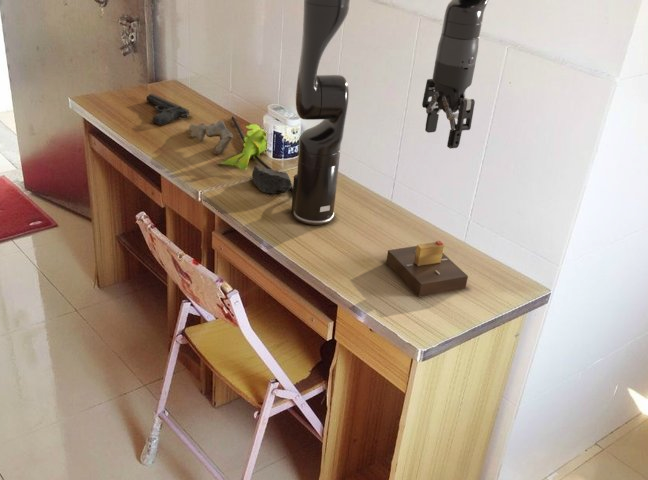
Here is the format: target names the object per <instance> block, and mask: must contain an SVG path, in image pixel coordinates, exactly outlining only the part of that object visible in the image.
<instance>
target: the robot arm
mask: <svg viewBox="0 0 648 480" xmlns="http://www.w3.org/2000/svg"><path fill="white" fill-rule="evenodd" d="M350 3H351V0H303V17H302V19H303V21H302V36H301V37H302V39H301V49H300V58H299V66H298V73H297V81H296V88H295V89H296V90H295V107H296V109H295V110H296V113H297V116H298V117H299V118H300V119H301V120H307V121H308V120H309V121H310V120H311V121H313V120H314V121H315V120H318V121H319V120H321V122H319V123H318V124H316V125H314V126H311V127H310V128H307V129H305V130H304V131H303V132H301V134H300V136H299V143H298V144H299V147H298V158H297V159H298V161H297V172H296V174H294V176H293V183H292V187H291V188H290V189H289V190H290V191H291V193H292V194H291V195H292V196H291V210H290V212H291V214H293V217H294V219H295V220H296V221H298V222H299V223H303V224H305V225H309V226H310V225H311V226H323V225H327V224H329V223H331V222H332V221H333V220H334V218H335V217H334V216H335V203H336V194H337V185H338V178H339V177H338V176H339V167H340V157H341V149H342V142H343V138H344V132H345V124H346V118H347V114H348V108H349V98H350V97H349V96H350V89H349V83H348V81H347V78H345V77H344V76H343V75H340V74H318V70H319V67H320V63H321V60H322V57H323V55H324V53H325V51H326V49H327V47H328V46H329V45H330V42H331V41H332V40H333V38H334V37H335V36H336V34H337V33H338V31H339V30H340V29H341V27H342V26H343V24H344V22H345V21H346V19H347V17H348V14H349V10H350ZM488 3H489V0H450V2H448V4H447V6H446V8H445V11H444V16H443V21H442V28H441V33H440V37H439V41H438V44H437V49H436V56H435V61H434V67H433V73H432V78H428V79H427V80H426V82H425V89H424V94H423V98H422V102H421V106H422V108H423V109H424V108H425V112H426V114H427V116H426V120H425V121H426V122H425V132H426V133H428V134H429V133H436V132H437V127H438V121H439V117H440V116H439V115H440V114H439V113H440V112H441V111H443V112H444V113H445V116H446V119H447V120H448V121H449V125H450V129H449V133H448V138H447V145H446V147H447V148H448V149H450V150H451V149H457V148H458V147H459V146H460V143H461V137H462V133H463V131H470V130H471V128H472V123H473V115H474V109H475V103H476V101H475V99H474V98H467V97H466V90H467V89H468V88H469V87H470V86H472V84H473V79H474V78H473V77H474V74H475V68H476V63H477V58H478V53H479V46H480V45H479V43H480V42H479V41H480V36H481V31H482V25H483V20H484V13H485V10H486V7H487V5H488ZM429 98H430V101H429ZM456 112H458V113H456ZM231 120H232V121H233V123H234V125H235V128H236V129H237V130H238V134H239V136H240V138H241V139H242V141H243V144H244V143H245V141H244V138H245V137H246V136H245V135H244V132H243V131H242V129H241V127H240V124H239V123H238V121H237V119H236V118H235V116H232V117H231ZM456 120H457V121H456ZM255 159H256V160H257V162H258V163H259V164H261V165H262V166H263V168H266V169H272V170H274V169H273V168H271V166H269V164H267V163H266V162H265V161H263V160H262V159H261V158H260V156H259V157H257V156H255Z"/></svg>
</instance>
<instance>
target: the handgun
mask: <svg viewBox="0 0 648 480" xmlns="http://www.w3.org/2000/svg"><path fill="white" fill-rule="evenodd" d="M145 98H146V102H149V103H151V104H153V105H155V106H154V110H155V111H156V112H157V113H156V114H154V115H153V117H152V122H153V123H155V124H157V125H159V126H162V125H166V124H169V123H170V122H172V121H173V120H175V119H177V118H178V119H179V118H180V119H188V116H189V115H190V110H189V109H187V108H185V107H183V106H180V105H178V104H176V103H173V102H172V101H169V100H167V99H165V98H162V97H160V96H158V95H156V94H153V93H150V94H148V95H147V96H146V97H145Z"/></svg>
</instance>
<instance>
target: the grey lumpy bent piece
mask: <svg viewBox="0 0 648 480" xmlns="http://www.w3.org/2000/svg"><path fill="white" fill-rule="evenodd" d="M188 130H189V132H190V133H191V137H192V138H196V139H198V141H200V142H203V141H204V140H205V138H206V137H207V138H214V137H216V138H217V137H219V141H218V142H217V144H216V146H215V148H214V150H215V153H216V155H222V154H223V153H224V152H225V150H226V149H227V147H228V146H229V145H230V144H231V142H232V140H233V137H234V134H233V133H232V132H230V131H229V129H228V127H226V125H225V122H224V121H223V120H222V119H219V120H218V121H217V122H216V123H214V122H212V123H210V124H209V125H208V126H207V124H205V123H200V124H198V125H197V124H190V125H189V127H188Z"/></svg>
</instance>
